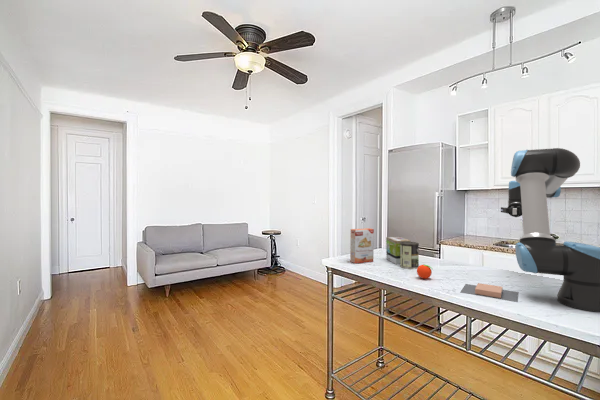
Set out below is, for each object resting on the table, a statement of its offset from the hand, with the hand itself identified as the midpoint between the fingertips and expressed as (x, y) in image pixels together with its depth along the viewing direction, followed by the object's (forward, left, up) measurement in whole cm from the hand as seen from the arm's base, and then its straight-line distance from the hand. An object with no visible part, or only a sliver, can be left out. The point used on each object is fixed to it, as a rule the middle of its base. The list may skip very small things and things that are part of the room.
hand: (514, 211), depth 140 cm
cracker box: (+78, -2, -34) cm, 85 cm away
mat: (+8, +22, -34) cm, 41 cm away
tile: (+8, +19, -32) cm, 38 cm away
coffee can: (+50, -6, -34) cm, 61 cm away
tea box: (+60, -16, -34) cm, 71 cm away
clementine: (+36, +14, -34) cm, 52 cm away
